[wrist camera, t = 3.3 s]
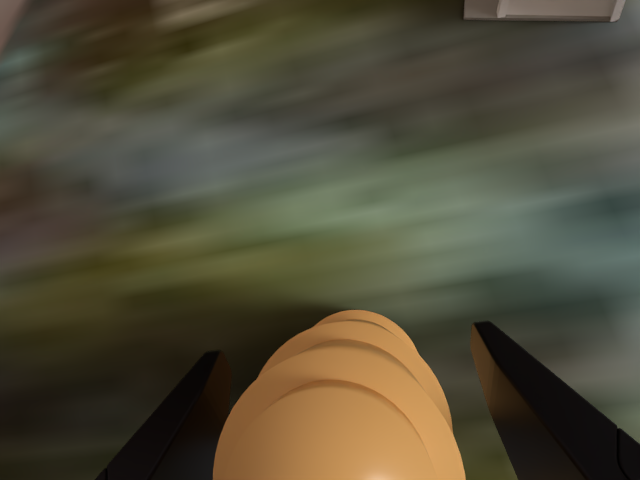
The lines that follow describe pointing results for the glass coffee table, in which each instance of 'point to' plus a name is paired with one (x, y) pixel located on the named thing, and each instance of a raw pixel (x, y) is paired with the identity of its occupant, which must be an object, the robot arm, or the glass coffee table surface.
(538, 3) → the white water bottle
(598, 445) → the robot arm
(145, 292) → the glass coffee table surface
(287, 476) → the tan bulged column
